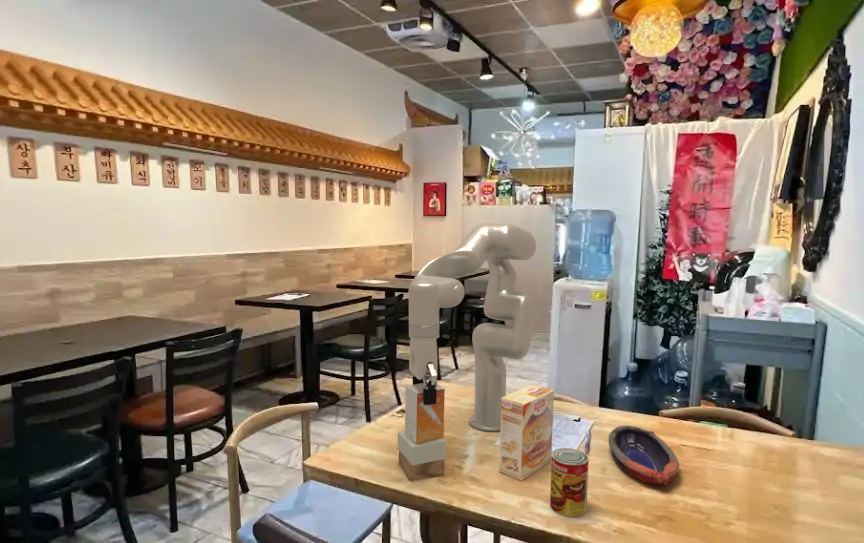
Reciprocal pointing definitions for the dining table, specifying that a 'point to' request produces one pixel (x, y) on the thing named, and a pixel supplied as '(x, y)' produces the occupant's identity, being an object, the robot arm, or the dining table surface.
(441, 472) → the tower base
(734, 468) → the dining table surface
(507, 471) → the coffeecake box
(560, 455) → the canned food
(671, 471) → the dish
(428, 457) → the tower top
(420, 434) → the small box
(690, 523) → the dining table surface
